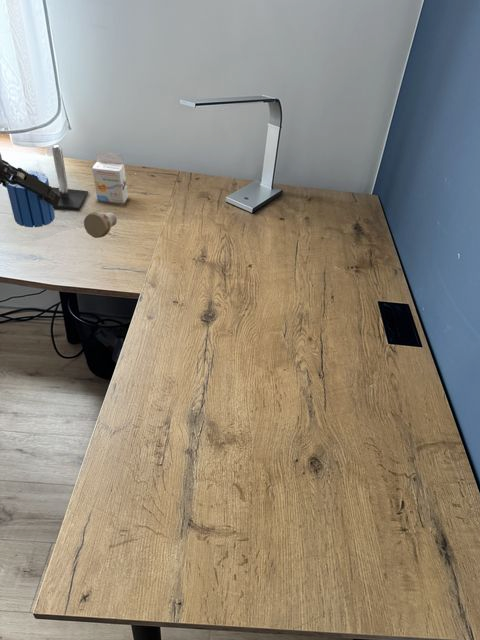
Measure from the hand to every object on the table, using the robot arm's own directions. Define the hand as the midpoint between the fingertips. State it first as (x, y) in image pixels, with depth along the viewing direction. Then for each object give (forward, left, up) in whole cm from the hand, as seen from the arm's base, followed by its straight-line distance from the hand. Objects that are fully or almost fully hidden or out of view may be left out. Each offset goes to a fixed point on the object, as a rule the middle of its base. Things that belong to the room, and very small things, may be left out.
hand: (40, 196), depth 122 cm
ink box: (+9, +33, -17) cm, 38 cm away
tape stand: (-5, +30, -17) cm, 35 cm away
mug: (+10, +15, -17) cm, 25 cm away
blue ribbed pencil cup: (-1, -3, -4) cm, 5 cm away
